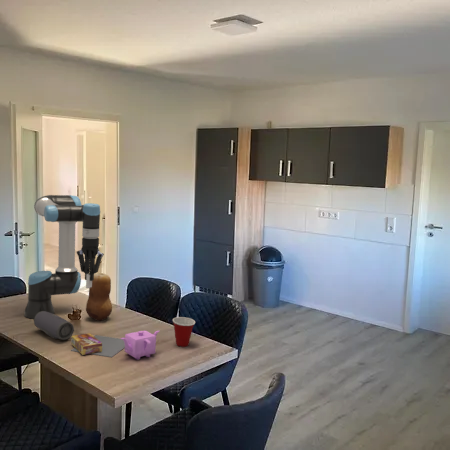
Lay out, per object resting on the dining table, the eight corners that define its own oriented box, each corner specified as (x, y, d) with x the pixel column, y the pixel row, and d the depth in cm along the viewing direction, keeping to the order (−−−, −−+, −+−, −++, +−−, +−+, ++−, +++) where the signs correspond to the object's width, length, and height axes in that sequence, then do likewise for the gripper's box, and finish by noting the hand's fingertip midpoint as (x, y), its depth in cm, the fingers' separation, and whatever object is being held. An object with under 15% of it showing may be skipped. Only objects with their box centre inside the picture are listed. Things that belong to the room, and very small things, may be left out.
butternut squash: (115, 317, 272) (117, 272, 269) (105, 324, 259) (107, 277, 256) (91, 314, 274) (93, 270, 271) (80, 321, 261) (81, 274, 258)
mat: (70, 350, 220) (70, 350, 220) (95, 335, 241) (95, 334, 241) (111, 357, 215) (111, 356, 215) (133, 341, 237) (133, 340, 237)
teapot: (130, 347, 228) (131, 324, 227) (159, 350, 226) (160, 327, 225) (119, 360, 213) (120, 335, 212) (149, 363, 211) (150, 338, 210)
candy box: (71, 344, 227) (82, 355, 215) (71, 335, 227) (82, 345, 214) (90, 341, 232) (102, 352, 220) (90, 332, 232) (102, 342, 220)
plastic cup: (188, 350, 229) (189, 325, 228) (167, 346, 232) (168, 321, 231) (197, 343, 239) (199, 318, 238) (177, 339, 243) (178, 315, 241)
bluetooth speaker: (75, 340, 234) (75, 319, 233) (56, 344, 227) (57, 323, 226) (50, 327, 249) (50, 308, 248) (32, 331, 242) (32, 311, 241)
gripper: (73, 236, 227) (72, 287, 230) (99, 239, 224) (97, 291, 227) (82, 234, 234) (80, 283, 237) (107, 237, 231) (105, 287, 234)
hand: (89, 287), depth 232 cm, fingers closed
